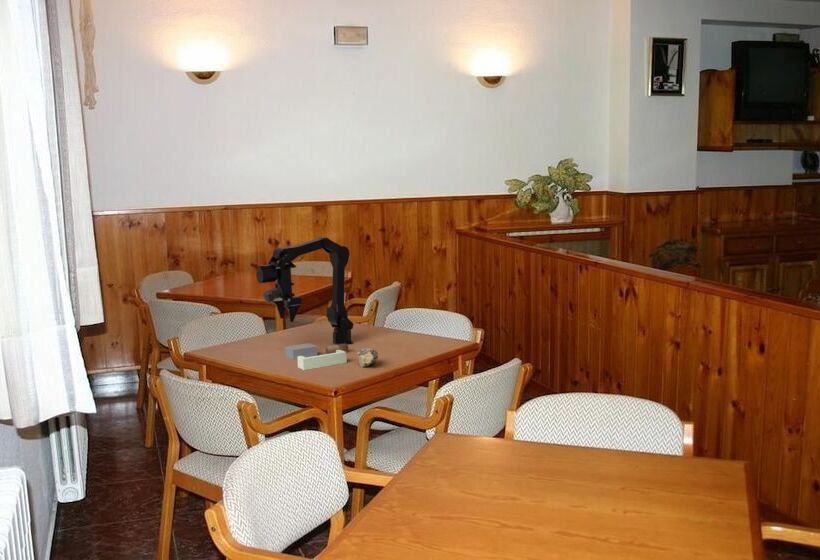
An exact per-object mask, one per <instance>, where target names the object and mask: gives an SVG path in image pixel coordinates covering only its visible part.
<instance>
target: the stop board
mask: <svg viewBox="0 0 820 560" xmlns="http://www.w3.org/2000/svg"><path fill="white" fill-rule="evenodd" d="M296 360H297V368H299V369H301V370H302V371H306V370H312V369H317V368H318V369H319V368H325V367H330V366H337V365H341V364H347V362H348V361H347V360H348V359H347V352H344V351H342V350H336V353H331V354H326V353H325V354H319V355H318V356H312V357H306V358H305V357H303V356H297V359H296Z"/></svg>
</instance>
